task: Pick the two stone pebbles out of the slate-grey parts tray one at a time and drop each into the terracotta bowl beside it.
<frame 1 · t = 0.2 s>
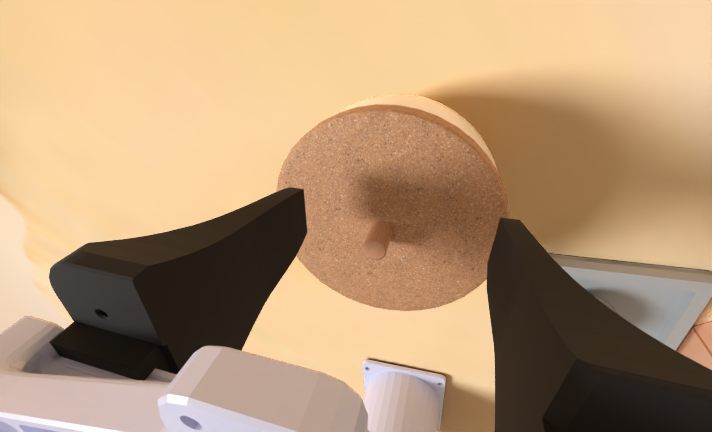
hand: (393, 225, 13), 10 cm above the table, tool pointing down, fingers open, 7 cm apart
tray: (591, 325, 25), on the table
lidded jar: (407, 160, 22), on the table
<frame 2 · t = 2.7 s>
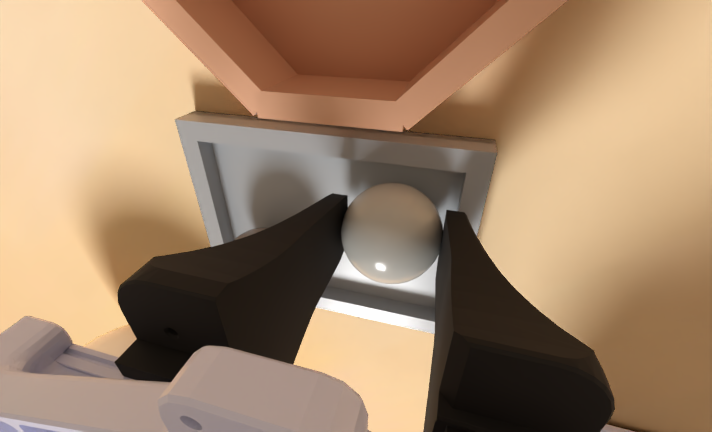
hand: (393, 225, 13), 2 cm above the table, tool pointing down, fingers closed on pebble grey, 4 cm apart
tray: (333, 221, 15), on the table
lidded jar: (188, 344, 26), on the table
pebble grey: (399, 207, 14), resting on tray, touching gripper
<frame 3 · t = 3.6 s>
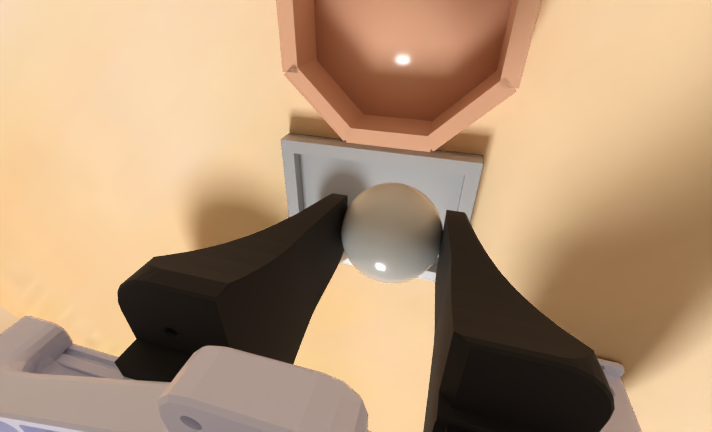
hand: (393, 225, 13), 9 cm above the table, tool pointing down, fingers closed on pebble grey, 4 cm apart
bowl: (405, 21, 17), on the table
tray: (376, 207, 23), on the table
pebble grey: (399, 207, 14), point 8 cm above the table, touching gripper
when the fingers open (5 cm above the table, at t = 5.0 s): pebble grey drops 3 cm, resting on bowl.
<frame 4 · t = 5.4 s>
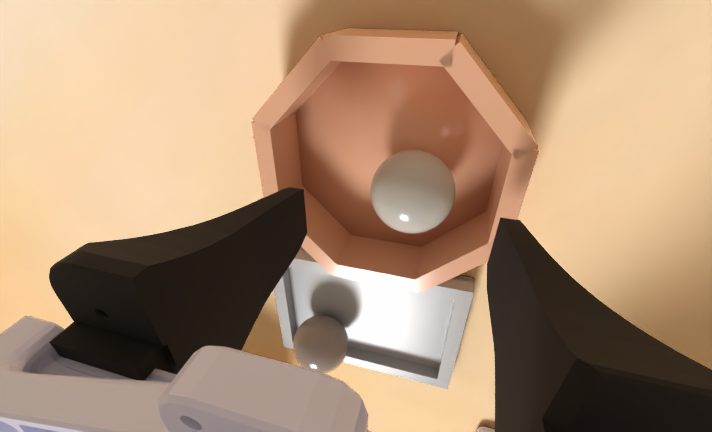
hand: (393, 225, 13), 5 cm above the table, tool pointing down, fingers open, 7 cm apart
bowl: (392, 158, 17), on the table
pebble dark: (330, 322, 24), resting on tray
tray: (366, 310, 23), on the table
pebble grey: (408, 173, 16), resting on bowl, tilted 13°
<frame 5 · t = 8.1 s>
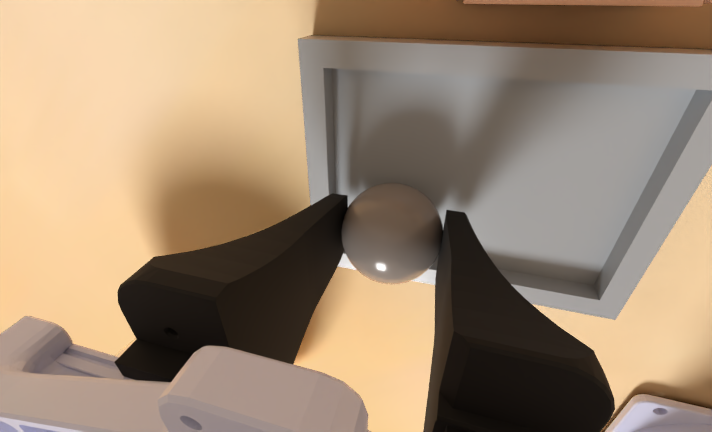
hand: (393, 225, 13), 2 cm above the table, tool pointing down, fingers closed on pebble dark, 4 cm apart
pebble dark: (399, 207, 14), resting on tray, touching gripper
tray: (471, 177, 13), on the table
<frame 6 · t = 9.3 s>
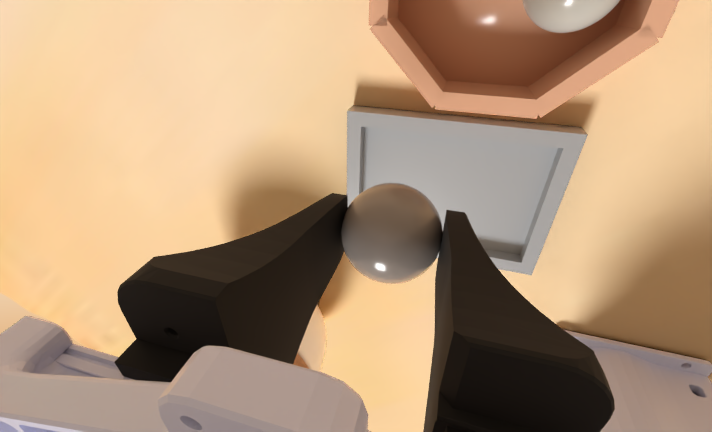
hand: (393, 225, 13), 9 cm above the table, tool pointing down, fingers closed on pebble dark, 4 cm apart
pebble dark: (398, 207, 14), point 8 cm above the table, touching gripper
tray: (445, 188, 21), on the table
lidded jar: (288, 298, 31), on the table
when the fingers open (5 cm above the table, at t = 10.7 s): pebble dark drops 3 cm, resting on bowl.
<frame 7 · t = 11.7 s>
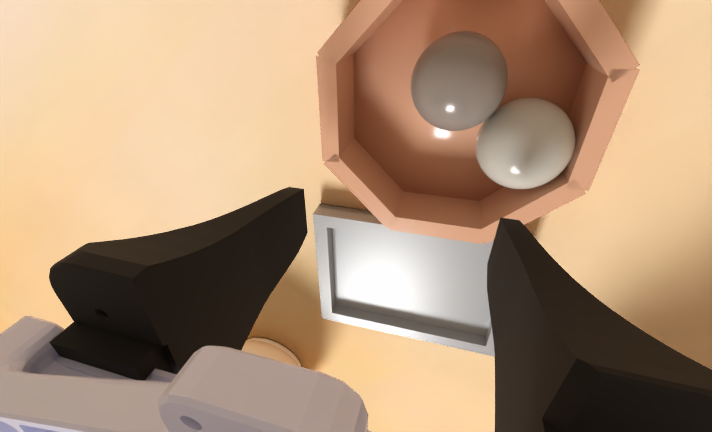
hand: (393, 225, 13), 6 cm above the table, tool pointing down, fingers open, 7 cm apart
bowl: (454, 103, 16), on the table
pebble dark: (460, 93, 15), point 1 cm above the table, tilted 25°, touching bowl
tray: (412, 276, 22), on the table
lidded jar: (272, 357, 32), on the table
pebble grey: (482, 128, 15), point 1 cm above the table, tilted 64°, touching bowl
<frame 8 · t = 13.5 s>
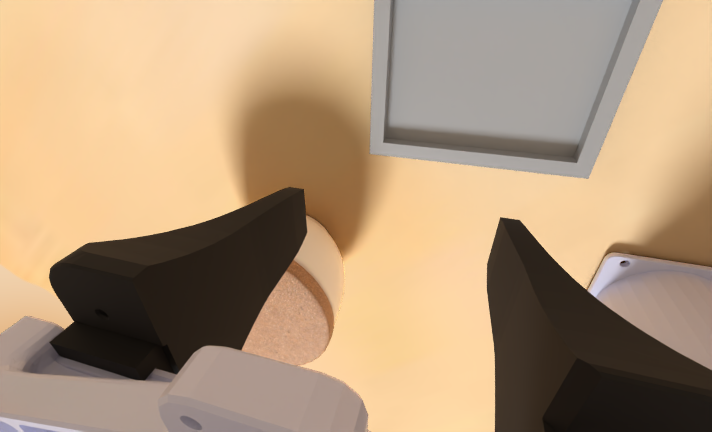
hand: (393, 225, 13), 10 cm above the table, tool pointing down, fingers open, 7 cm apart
tray: (487, 78, 18), on the table
lidded jar: (300, 241, 28), on the table
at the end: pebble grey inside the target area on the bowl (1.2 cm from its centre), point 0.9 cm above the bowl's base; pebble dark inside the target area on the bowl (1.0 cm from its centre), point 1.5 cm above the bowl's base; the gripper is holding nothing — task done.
